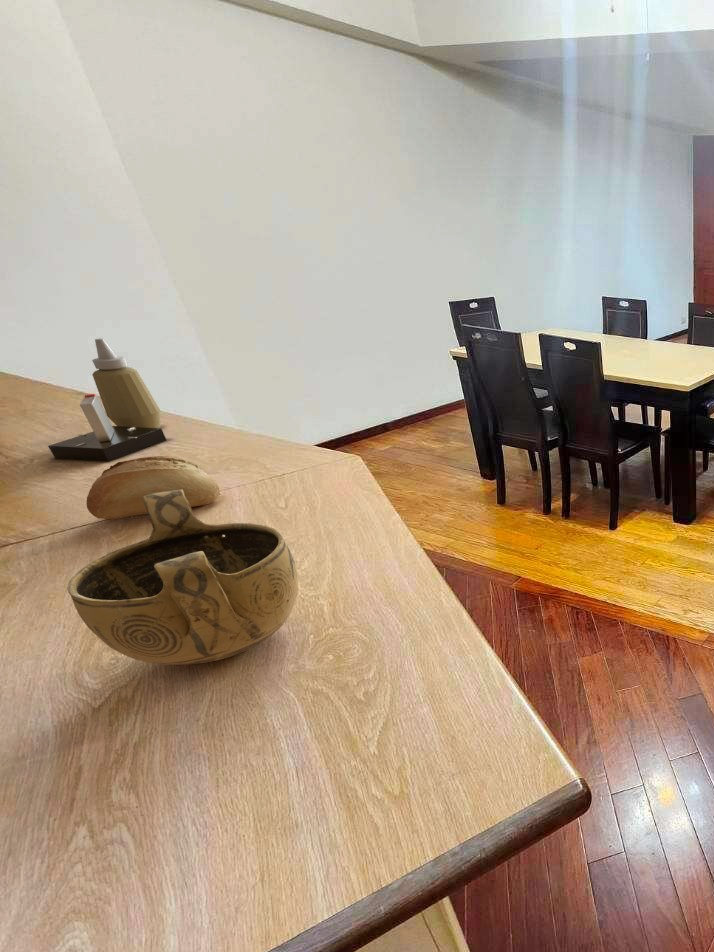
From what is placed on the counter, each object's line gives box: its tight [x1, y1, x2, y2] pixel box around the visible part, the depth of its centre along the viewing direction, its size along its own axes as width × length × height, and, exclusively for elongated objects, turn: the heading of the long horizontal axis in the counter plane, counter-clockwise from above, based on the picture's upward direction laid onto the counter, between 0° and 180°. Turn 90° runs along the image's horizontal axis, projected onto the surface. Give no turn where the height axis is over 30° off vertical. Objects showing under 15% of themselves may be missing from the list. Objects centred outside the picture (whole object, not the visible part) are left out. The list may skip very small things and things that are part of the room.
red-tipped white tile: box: [79, 393, 114, 442], centre depth 109 cm, size 7×2×7 cm, turn 38°
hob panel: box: [47, 425, 167, 462], centre depth 112 cm, size 12×11×3 cm
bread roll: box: [86, 455, 221, 520], centre depth 90 cm, size 10×15×8 cm, turn 132°
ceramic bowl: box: [66, 490, 299, 666], centre depth 61 cm, size 22×17×15 cm
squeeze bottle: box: [91, 338, 162, 428], centre depth 118 cm, size 8×8×18 cm
